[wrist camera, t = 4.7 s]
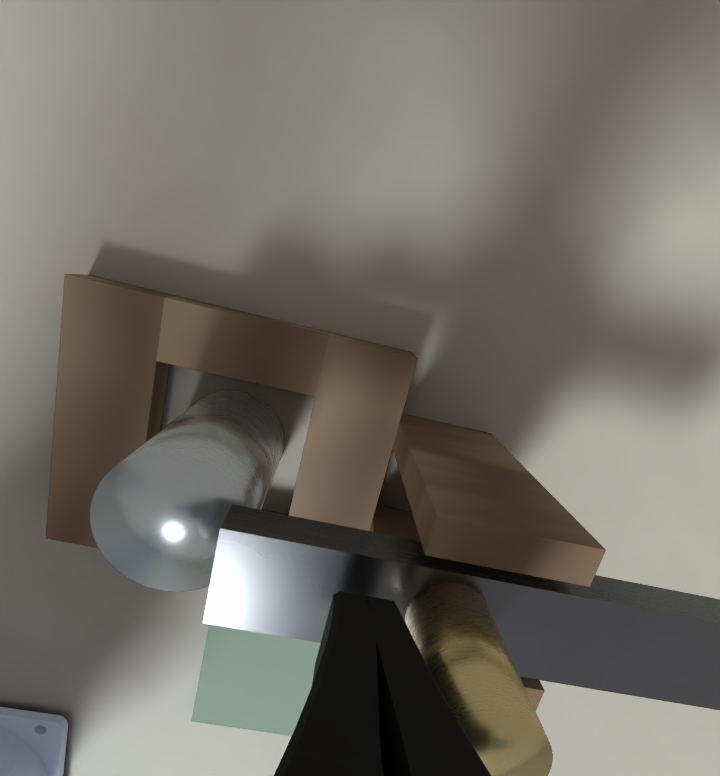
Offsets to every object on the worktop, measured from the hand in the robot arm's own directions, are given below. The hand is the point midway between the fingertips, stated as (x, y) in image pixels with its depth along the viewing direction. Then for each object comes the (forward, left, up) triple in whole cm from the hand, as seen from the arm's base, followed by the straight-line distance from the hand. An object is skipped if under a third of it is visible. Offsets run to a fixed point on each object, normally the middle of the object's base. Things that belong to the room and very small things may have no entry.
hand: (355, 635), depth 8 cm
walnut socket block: (-3, 0, -8) cm, 9 cm away
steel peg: (-5, 0, -8) cm, 10 cm away
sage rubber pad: (0, -10, -8) cm, 13 cm away
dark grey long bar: (+4, 0, -2) cm, 4 cm away
